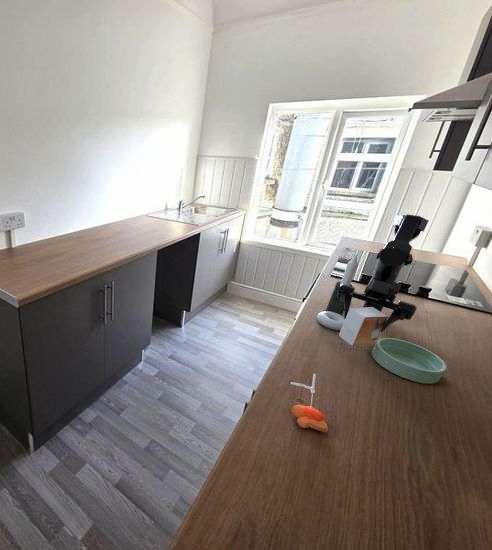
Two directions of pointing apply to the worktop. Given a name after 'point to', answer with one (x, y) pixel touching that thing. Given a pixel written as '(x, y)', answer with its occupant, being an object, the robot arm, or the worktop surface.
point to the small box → (362, 326)
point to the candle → (335, 302)
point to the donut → (331, 320)
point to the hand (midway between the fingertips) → (362, 324)
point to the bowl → (408, 360)
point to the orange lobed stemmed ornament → (309, 412)
